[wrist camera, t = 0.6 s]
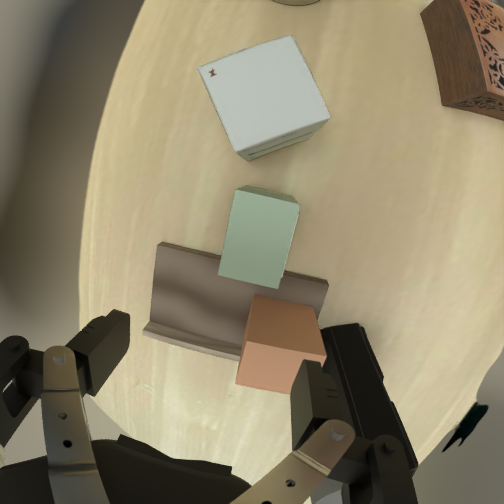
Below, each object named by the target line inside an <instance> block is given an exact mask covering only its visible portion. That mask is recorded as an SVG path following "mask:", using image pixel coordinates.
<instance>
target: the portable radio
mask: <svg viewBox="0 0 504 504" xmlns="http://www.w3.org/2000/svg"><path fill="white" fill-rule="evenodd" d="M320 333H321V337H322V340H323V344H324V348H325V351H326V355H327V357H326V359H325V362H324V364H323V366H322V371H323V373H326V374H329V375H330V376H331V377H332V379H333V380H334V381H335V384H336V389H337V393H338V398H339V401H340V406H341V410H342V415H343V419H344V422H346V423H347V424H349V425H350V426H351V427H352V428H353V430H354V432H355V435H356V436H359V437H362V438H365V439H368V440H372V441H374V440H375V439H376V438H377V437H378V436H380V435H391V436H394V437H396V438H397V439H398V440H399V441H400V442H401V443H402V445H403V447H404V451H405V454H406V458H407V461H408V465H409V469H410V473H411V476H412V477H413V475H414V473H415V471H416V469H417V467H418V461H417V458H416V456H415V453H414V451H413V448H412V446H411V443H410V441H409V438H408V436H407V433H406V431H405V428H404V426H403V424H402V421H401V419H400V416H399V414H398V412H397V410H396V407H395V405H394V403H393V402H392V401H390V398H389V396H388V393H387V391H386V389H385V387H384V384H383V378H384V376H383V373H382V371H381V369H380V366H379V364H378V362H377V359H376V357H375V355H374V353H373V350H372V348H371V345H370V343H369V341H368V338H367V335H366V333H365V330H364V328H363V327H360V325H359V324H358V323H355V324H348V325H341V326H334V327H329V328H326V329H323V330H321V331H320ZM341 496H342V503H343V504H344V495H343V484H342V489H341Z"/></svg>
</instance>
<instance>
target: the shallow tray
mask: <svg viewBox="0 0 504 504" xmlns="http://www.w3.org/2000/svg"><path fill="white" fill-rule="evenodd" d="M220 261H221V256H218V255H214V254H210V253H206V252H201V251H197V250H193V249H189V248H185V247H181V246H176V245H172V244H168V243H164V242H161V243H160V244H158V245H157V252H156V260H155V269H154V278H153V288H152V299H151V311H150V321H149V323H148V324H147V325H146V326H145V328H144V329H143V334H142V335H143V336H147V337H150V338H153V339H156V340H159V341H163V342H166V343H169V344H173V345H176V346H180V347H183V348H187V349H190V350H194V351H198V352H201V353H205V354H209V355H213V356H217V357H221V358H225V359H230V360H234V361H238V362H239V360H240V355H241V349H242V344H243V338H244V333H245V328H246V324H247V320H248V316H249V312H250V308H251V304H252V300H253V296H254V294H256V295H261V296H265V297H270V298H274V299H279V300H283V301H288V302H292V303H297V304H302V305H306V306H311V307H313V308H314V312H315V315H316V319H318V316H319V313H320V311H321V308H322V305H323V302H324V299H325V296H326V293H327V290H328V287H329V284H328V282H327V281H326V280H322V279H318V278H313V277H309V276H304V275H300V274H296V273H291V272H287V271H284V273H283V276H282V277H281V280H280V283H279V287H278V289H275V288H271V287H266V286H262V285H258V284H253V283H249V282H245V281H241V280H236V279H232V278H228V277H224V276H220V275H218V272H219V266H220Z"/></svg>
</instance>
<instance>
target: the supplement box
mask: <svg viewBox="0 0 504 504" xmlns="http://www.w3.org/2000/svg"><path fill="white" fill-rule="evenodd" d="M198 71H199V73H200V76H201V78H202V80H203V82H204V85H205V87H206V89H207V91H208V94H209V96H210V98H211V100H212V103H213V105H214V107H215V109H216V112H217V114H218V116H219V118H220V120H221V123H222V125H223V127H224V129H225V131H226V134H227V136H228V138H229V140H230V142H231V144H232V147H233V149H234V151H235V152H236V153H237V154H239V155H240V156H241V157H243V158H244V159H245V160H246V161H251V160H253V159H255V158H257V157H260V156H262V155H264V154H267V153H270V152H272V151H275V150H278V149H281V148H283V147H286V146H289V145H292V144H295V143H298V142H301V141H304V140H307V139H309V138H310V137H311V136H312V135H313V134H314V133H315V132H316V131H317V130H318V129H319V128H320V127H321V126H322V125H324V124H325V123H326V122H327V121H328V120H329V119H330V118H331V116H330V114H329V111H328V109H327V107H326V105H325V102H324V100H323V98H322V96H321V94H320V91H319V89H318V87H317V84H316V82H315V80H314V78H313V76H312V73H311V71H310V69H309V67H308V65H307V63H306V61H305V59H304V56H303V54H302V52H301V50H300V48H299V46H298V44H297V42H296V41H295V39H294V37H293V36H292V35H288V36H284V37H280V38H277V39H274V40H271V41H267V42H264V43H261V44H258V45H255V46H252V47H249V48H246V49H243V50H240V51H238V52H235V53H233V54H230V55H227V56H225V57H222V58H220V59H217V60H215V61H213V62H210V63H208V64H205V65H203V66H200V67H199V68H198Z"/></svg>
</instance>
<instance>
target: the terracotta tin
mask: <svg viewBox="0 0 504 504" xmlns="http://www.w3.org/2000/svg"><path fill="white" fill-rule="evenodd" d="M326 357H327V355H326V351H325V348H324V344H323V340H322V337H321V333H320V329H319V326H318V322H317V319H316V315H315V312H314V308H313V307H311V306H306V305H302V304H297V303H292V302H288V301H283V300H279V299H274V298H270V297H265V296H261V295H256V294H254V296H253V300H252V304H251V308H250V312H249V316H248V320H247V324H246V328H245V333H244V338H243V344H242V349H241V355H240V360H239V366H238V371H237V377H236V382H235V384H238V385H242V386H247V387H252V388H257V389H262V390H268V391H273V392H279V393H285V394H290V393H291V388H292V384H293V382H294V380H295V377H296V375H297V372H298V370H299V368H300V365H301V363H302V361H303V360H304V359H307V360H313V361H319V362H321V366H323V364H324V362H325V359H326Z"/></svg>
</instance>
